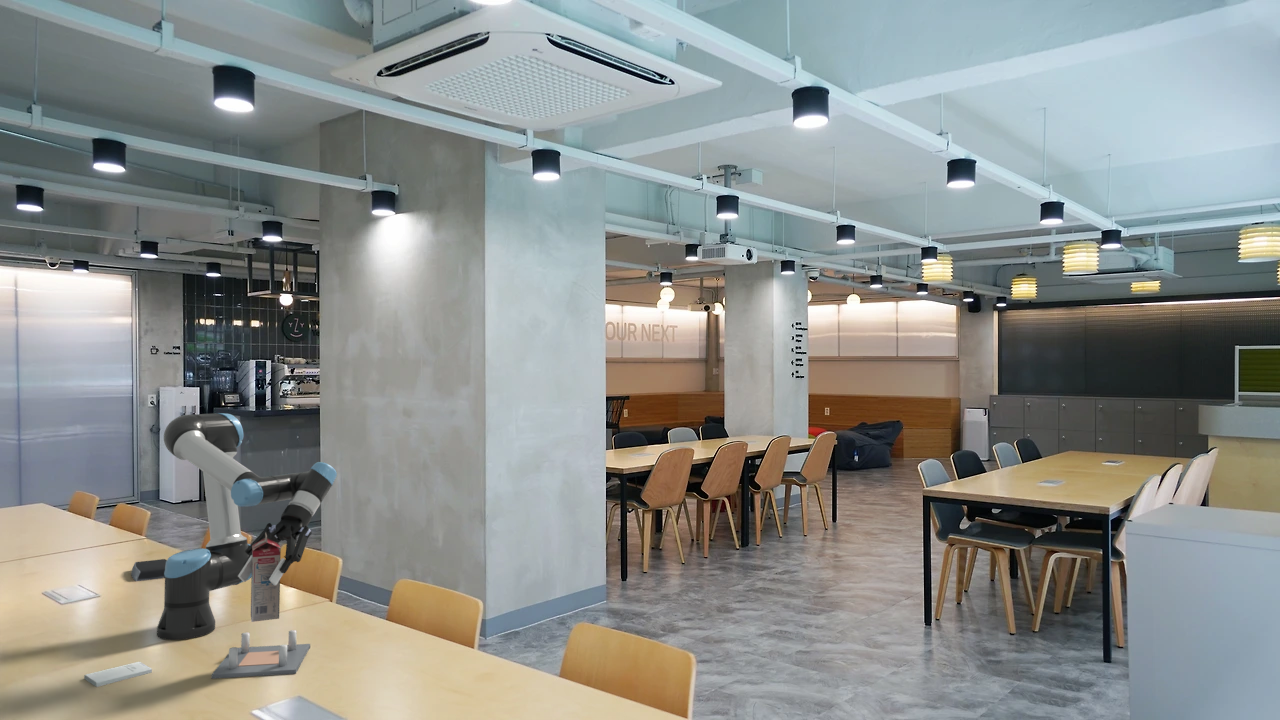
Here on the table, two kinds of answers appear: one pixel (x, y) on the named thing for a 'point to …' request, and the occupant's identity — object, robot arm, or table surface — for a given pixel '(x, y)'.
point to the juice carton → (264, 580)
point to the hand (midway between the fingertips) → (256, 580)
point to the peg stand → (262, 659)
